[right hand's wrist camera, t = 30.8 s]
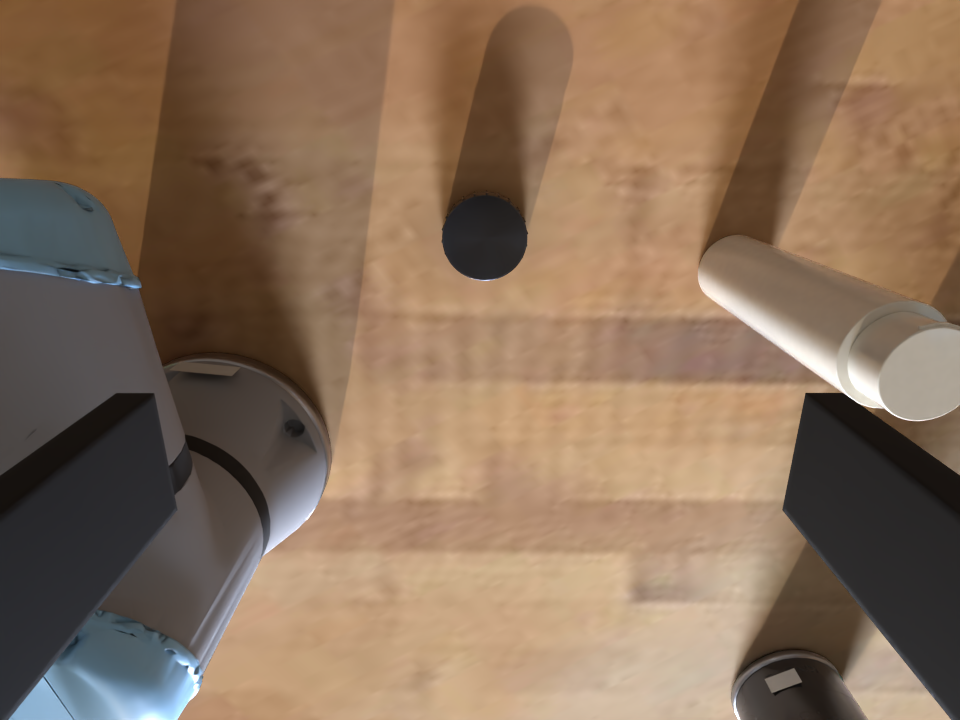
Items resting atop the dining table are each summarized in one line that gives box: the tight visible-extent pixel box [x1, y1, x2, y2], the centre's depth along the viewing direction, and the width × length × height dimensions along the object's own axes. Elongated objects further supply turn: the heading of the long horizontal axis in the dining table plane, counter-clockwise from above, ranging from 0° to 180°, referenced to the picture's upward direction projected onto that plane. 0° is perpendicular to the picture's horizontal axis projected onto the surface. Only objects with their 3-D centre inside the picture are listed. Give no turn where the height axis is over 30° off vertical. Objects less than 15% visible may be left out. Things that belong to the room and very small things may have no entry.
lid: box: [442, 191, 528, 281], centre depth 39 cm, size 5×5×2 cm
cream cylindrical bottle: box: [698, 235, 960, 421], centre depth 32 cm, size 5×5×19 cm
